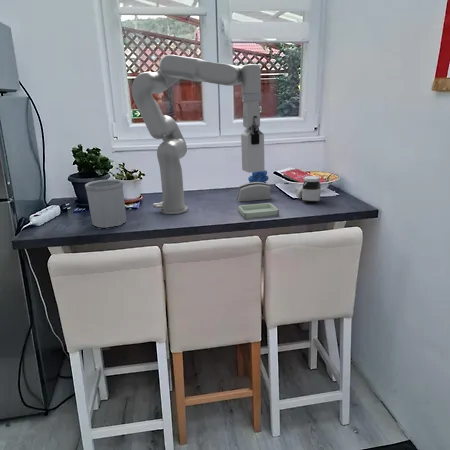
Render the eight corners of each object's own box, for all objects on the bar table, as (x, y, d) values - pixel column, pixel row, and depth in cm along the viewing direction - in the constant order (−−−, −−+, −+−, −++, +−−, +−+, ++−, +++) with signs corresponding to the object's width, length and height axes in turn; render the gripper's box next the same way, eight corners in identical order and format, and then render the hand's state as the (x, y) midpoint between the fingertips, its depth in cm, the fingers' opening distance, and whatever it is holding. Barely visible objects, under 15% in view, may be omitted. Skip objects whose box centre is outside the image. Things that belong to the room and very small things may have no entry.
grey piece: (268, 196, 197) (270, 179, 190) (271, 201, 193) (273, 184, 187) (235, 198, 194) (236, 181, 188) (237, 204, 190) (238, 187, 184)
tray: (244, 219, 163) (244, 213, 162) (238, 211, 174) (237, 205, 174) (279, 215, 166) (279, 210, 165) (270, 208, 177) (270, 202, 176)
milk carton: (257, 168, 168) (256, 122, 162) (264, 171, 162) (263, 123, 155) (242, 170, 166) (240, 124, 159) (248, 173, 159) (247, 125, 153)
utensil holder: (89, 221, 168) (83, 181, 163) (124, 216, 174) (119, 177, 168) (93, 231, 155) (86, 188, 150) (130, 225, 161) (125, 183, 155)
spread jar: (316, 205, 179) (317, 180, 175) (292, 203, 183) (293, 178, 180) (322, 198, 189) (323, 174, 185) (299, 196, 194) (300, 173, 190)
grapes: (265, 188, 213) (265, 166, 209) (270, 190, 207) (270, 168, 203) (245, 190, 210) (244, 168, 206) (249, 193, 204) (249, 170, 200)
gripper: (237, 98, 162) (239, 141, 167) (247, 98, 146) (248, 146, 151) (254, 97, 163) (256, 140, 169) (266, 97, 147) (267, 145, 152)
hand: (252, 142), depth 160 cm, fingers closed on milk carton, 7 cm apart
